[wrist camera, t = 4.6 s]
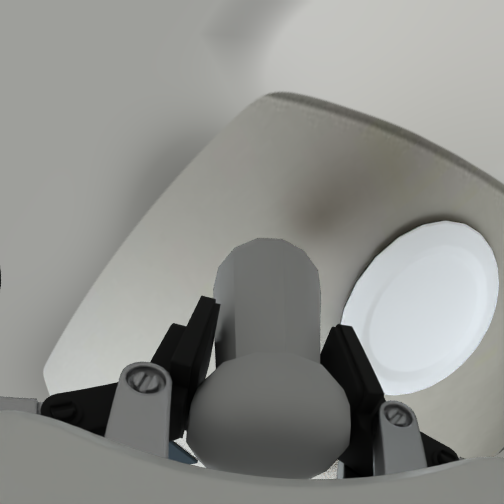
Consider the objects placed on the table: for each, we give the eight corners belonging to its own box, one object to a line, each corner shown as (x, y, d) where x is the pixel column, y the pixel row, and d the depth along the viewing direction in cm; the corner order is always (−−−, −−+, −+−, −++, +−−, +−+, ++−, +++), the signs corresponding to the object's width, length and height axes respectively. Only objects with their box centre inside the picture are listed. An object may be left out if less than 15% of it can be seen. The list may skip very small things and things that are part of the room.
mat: (87, 420, 35) (86, 423, 34) (135, 408, 32) (134, 411, 32) (142, 466, 38) (141, 469, 37) (197, 460, 35) (197, 463, 34)
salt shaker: (244, 327, 19) (218, 510, 6) (205, 252, 17) (98, 411, 5) (326, 295, 18) (396, 472, 5) (293, 213, 17) (368, 338, 4)
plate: (292, 329, 27) (293, 338, 25) (438, 173, 21) (447, 173, 20) (399, 408, 30) (403, 416, 28) (508, 297, 24) (516, 303, 23)
